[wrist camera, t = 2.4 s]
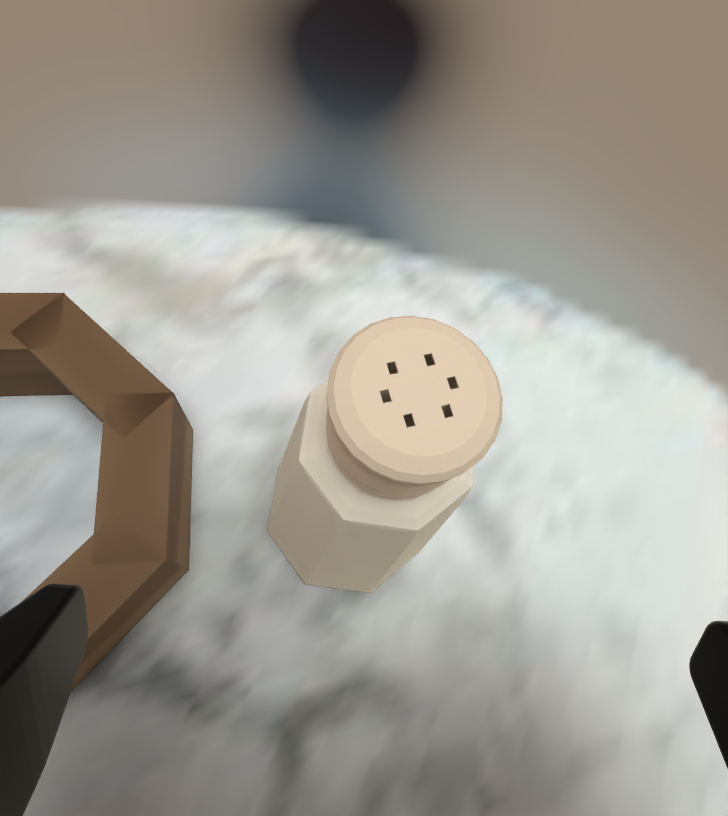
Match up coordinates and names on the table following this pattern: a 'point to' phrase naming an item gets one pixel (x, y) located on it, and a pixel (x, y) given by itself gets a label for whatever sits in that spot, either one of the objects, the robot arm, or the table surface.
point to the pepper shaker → (383, 452)
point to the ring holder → (109, 461)
